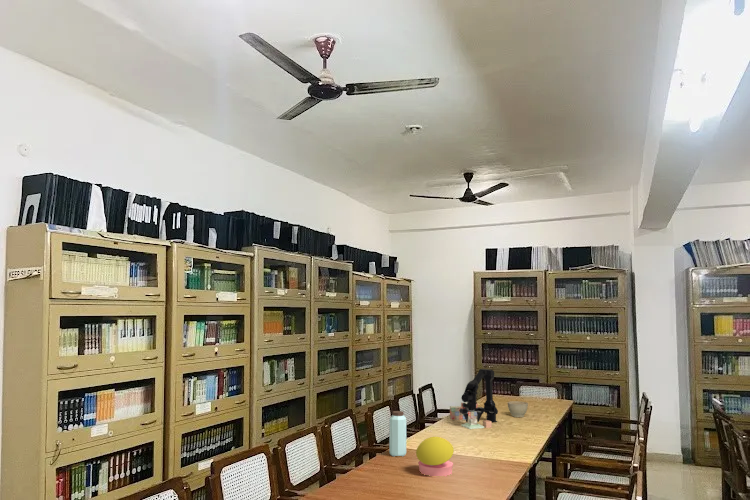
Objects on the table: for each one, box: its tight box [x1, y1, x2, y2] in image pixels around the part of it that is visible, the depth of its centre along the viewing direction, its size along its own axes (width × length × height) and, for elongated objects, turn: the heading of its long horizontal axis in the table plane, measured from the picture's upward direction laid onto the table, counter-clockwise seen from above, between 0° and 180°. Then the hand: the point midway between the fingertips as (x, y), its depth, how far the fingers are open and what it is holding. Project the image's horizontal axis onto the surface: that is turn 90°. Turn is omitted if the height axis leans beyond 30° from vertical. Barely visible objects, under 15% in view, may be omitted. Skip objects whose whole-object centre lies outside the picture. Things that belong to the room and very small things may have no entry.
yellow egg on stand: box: [415, 436, 455, 477], centre depth 306 cm, size 20×18×20 cm
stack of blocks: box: [449, 401, 479, 420], centre depth 455 cm, size 21×6×12 cm, turn 93°
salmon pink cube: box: [482, 420, 493, 429], centre depth 423 cm, size 4×4×4 cm
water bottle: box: [388, 410, 407, 457], centre depth 342 cm, size 10×10×25 cm
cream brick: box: [468, 418, 478, 425], centre depth 423 cm, size 4×4×4 cm
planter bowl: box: [507, 400, 529, 418], centre depth 466 cm, size 16×16×11 cm
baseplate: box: [461, 422, 485, 430], centre depth 423 cm, size 12×12×2 cm
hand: (472, 422), depth 423 cm, fingers open, 9 cm apart
